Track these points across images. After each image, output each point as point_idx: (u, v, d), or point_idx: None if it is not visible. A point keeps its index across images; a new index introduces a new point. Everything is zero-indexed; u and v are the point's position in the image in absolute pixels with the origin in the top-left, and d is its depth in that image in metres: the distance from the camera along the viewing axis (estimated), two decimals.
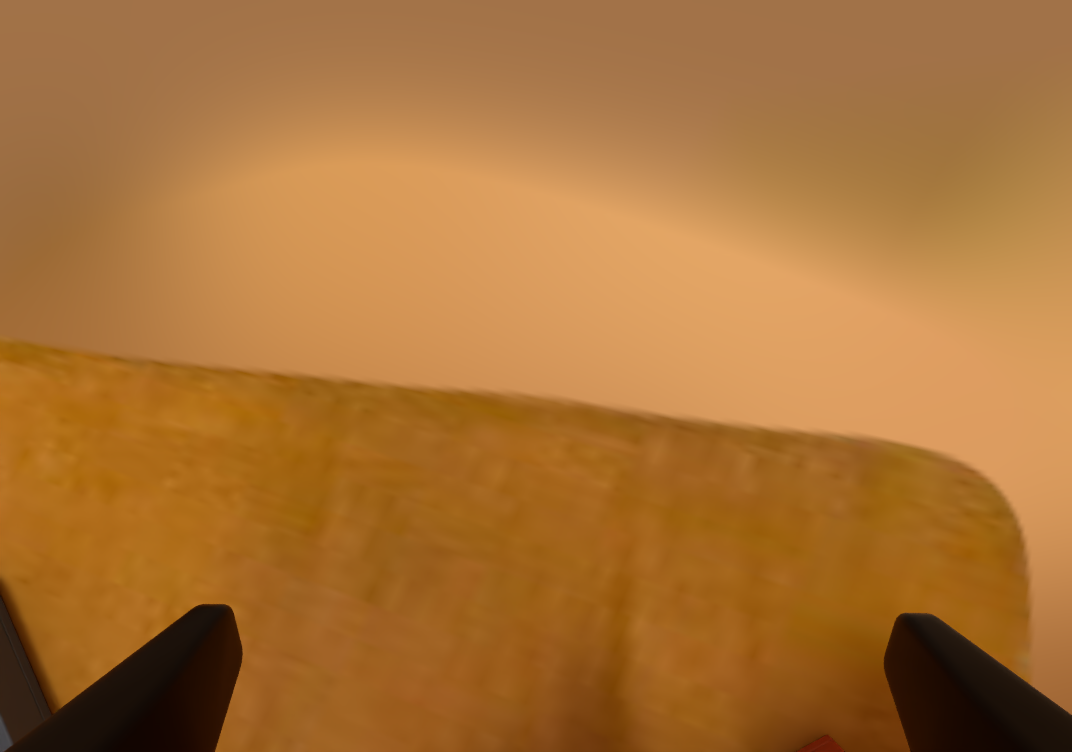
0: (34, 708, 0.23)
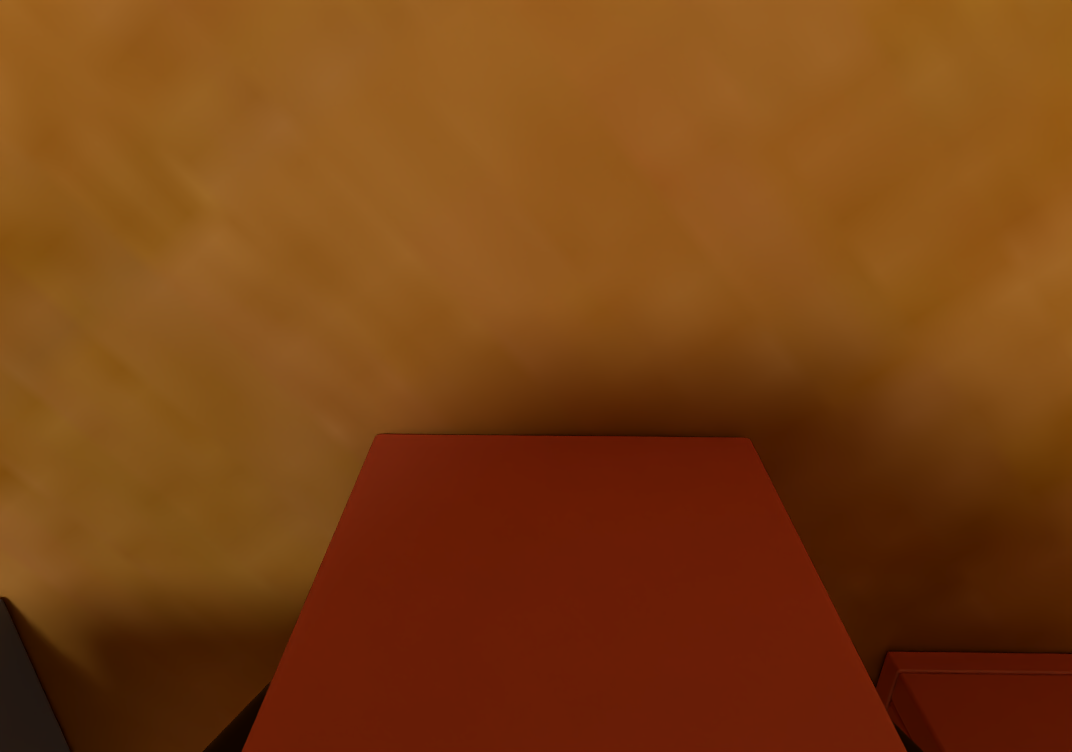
0: None
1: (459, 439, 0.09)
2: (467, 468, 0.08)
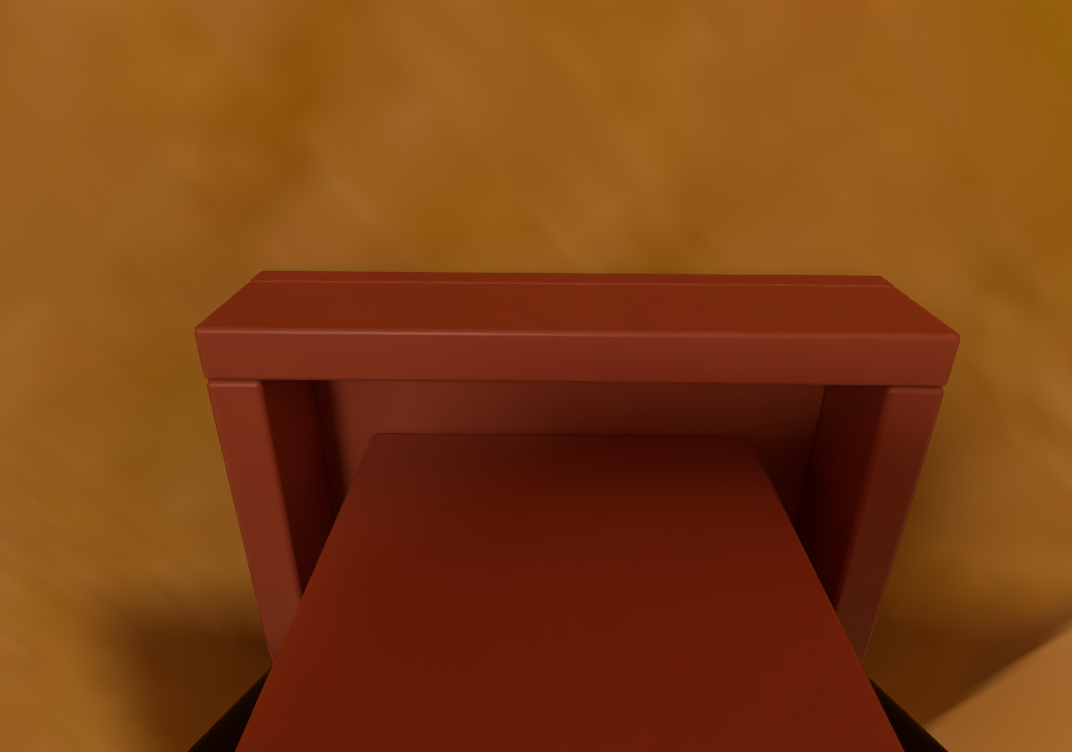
0: None
1: (456, 439, 0.09)
2: (465, 468, 0.08)
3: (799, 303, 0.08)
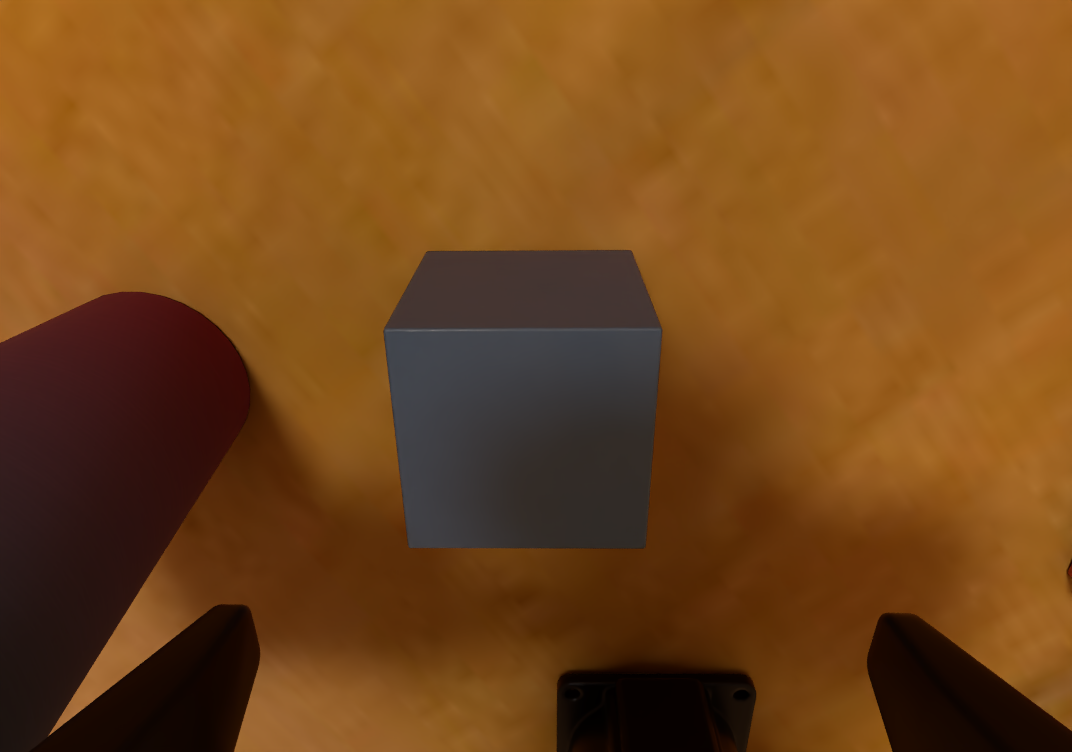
0: None
1: None
2: None
3: None
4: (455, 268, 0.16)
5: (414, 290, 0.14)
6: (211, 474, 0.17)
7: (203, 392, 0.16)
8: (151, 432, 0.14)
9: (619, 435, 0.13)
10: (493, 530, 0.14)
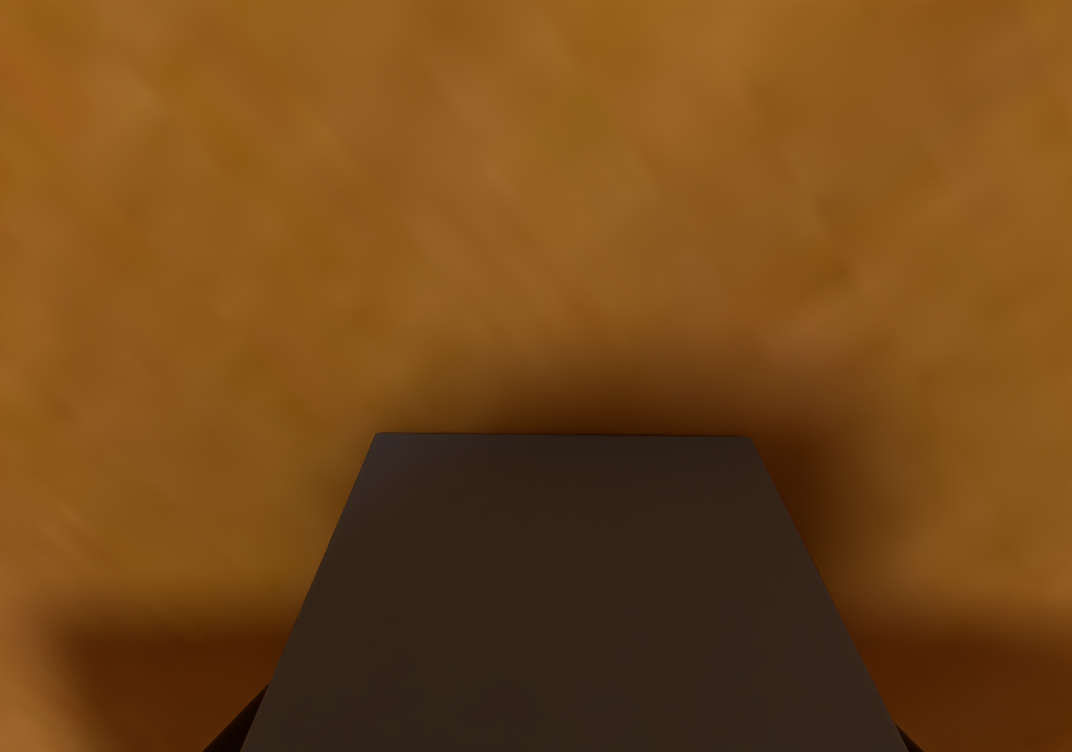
0: None
1: None
2: None
3: None
4: (424, 497, 0.08)
5: (329, 585, 0.07)
6: None
7: None
8: None
9: None
10: None
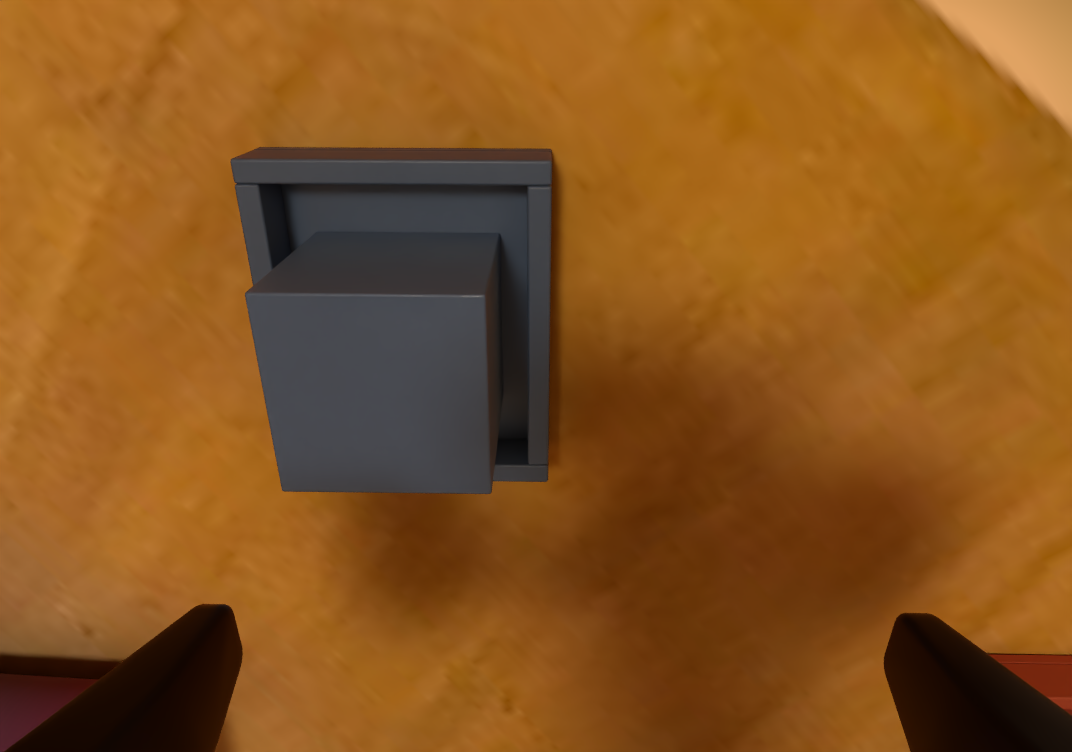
0: None
1: None
2: None
3: None
4: (333, 245, 0.18)
5: (287, 262, 0.16)
6: None
7: None
8: None
9: (458, 390, 0.15)
10: (355, 475, 0.16)
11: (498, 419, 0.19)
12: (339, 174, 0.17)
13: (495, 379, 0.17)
